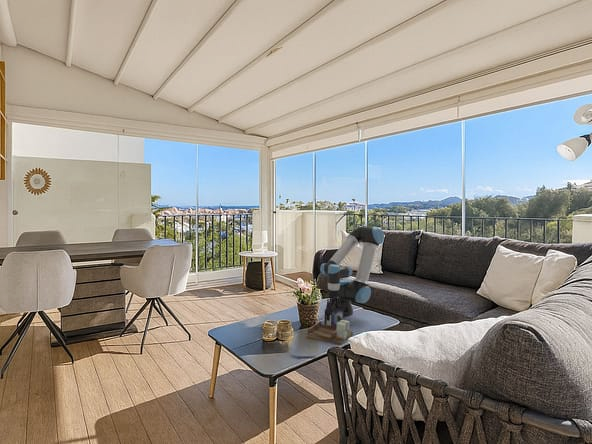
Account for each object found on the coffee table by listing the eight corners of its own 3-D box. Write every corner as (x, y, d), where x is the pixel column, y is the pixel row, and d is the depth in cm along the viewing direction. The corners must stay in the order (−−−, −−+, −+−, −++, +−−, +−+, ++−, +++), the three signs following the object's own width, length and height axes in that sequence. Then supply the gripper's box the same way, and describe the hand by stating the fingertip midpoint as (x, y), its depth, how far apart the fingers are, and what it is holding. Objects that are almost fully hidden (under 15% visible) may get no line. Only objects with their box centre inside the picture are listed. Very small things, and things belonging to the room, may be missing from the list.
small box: (328, 328, 224) (328, 312, 224) (324, 325, 231) (323, 309, 230) (343, 326, 228) (343, 310, 228) (338, 323, 234) (338, 307, 234)
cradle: (320, 327, 227) (320, 312, 226) (353, 334, 215) (353, 318, 215) (306, 337, 211) (306, 321, 211) (341, 344, 200) (341, 327, 199)
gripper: (336, 284, 240) (335, 316, 242) (319, 292, 219) (319, 326, 220) (346, 286, 237) (346, 318, 238) (330, 294, 215) (330, 329, 216)
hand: (333, 322), depth 229 cm, fingers open, 13 cm apart
